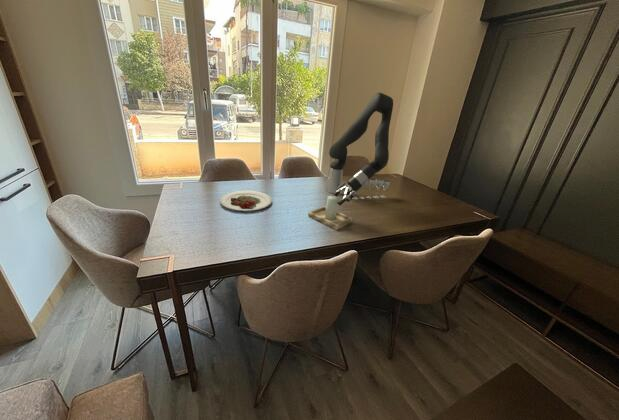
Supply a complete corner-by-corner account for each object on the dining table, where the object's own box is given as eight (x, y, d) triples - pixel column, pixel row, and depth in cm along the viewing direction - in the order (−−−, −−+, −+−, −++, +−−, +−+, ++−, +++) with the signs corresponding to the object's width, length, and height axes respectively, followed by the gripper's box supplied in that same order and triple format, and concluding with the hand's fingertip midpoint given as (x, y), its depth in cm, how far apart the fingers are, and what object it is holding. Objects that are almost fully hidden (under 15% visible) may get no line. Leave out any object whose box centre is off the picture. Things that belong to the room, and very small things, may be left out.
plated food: (253, 190, 171) (253, 185, 170) (281, 205, 153) (282, 200, 151) (211, 199, 151) (210, 194, 150) (237, 218, 133) (237, 212, 131)
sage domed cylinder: (322, 217, 140) (325, 197, 135) (329, 214, 144) (332, 194, 139) (330, 221, 136) (333, 201, 131) (337, 218, 141) (340, 198, 135)
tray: (308, 216, 142) (308, 212, 141) (323, 209, 151) (324, 205, 150) (336, 230, 130) (336, 225, 129) (351, 222, 140) (352, 218, 139)
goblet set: (383, 195, 184) (387, 177, 178) (388, 198, 179) (392, 180, 173) (349, 196, 175) (352, 178, 169) (353, 200, 170) (356, 181, 164)
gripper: (348, 171, 140) (326, 191, 141) (360, 180, 127) (336, 202, 129) (355, 180, 143) (334, 200, 145) (367, 190, 131) (344, 210, 133)
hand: (335, 201), depth 137 cm, fingers open, 8 cm apart
